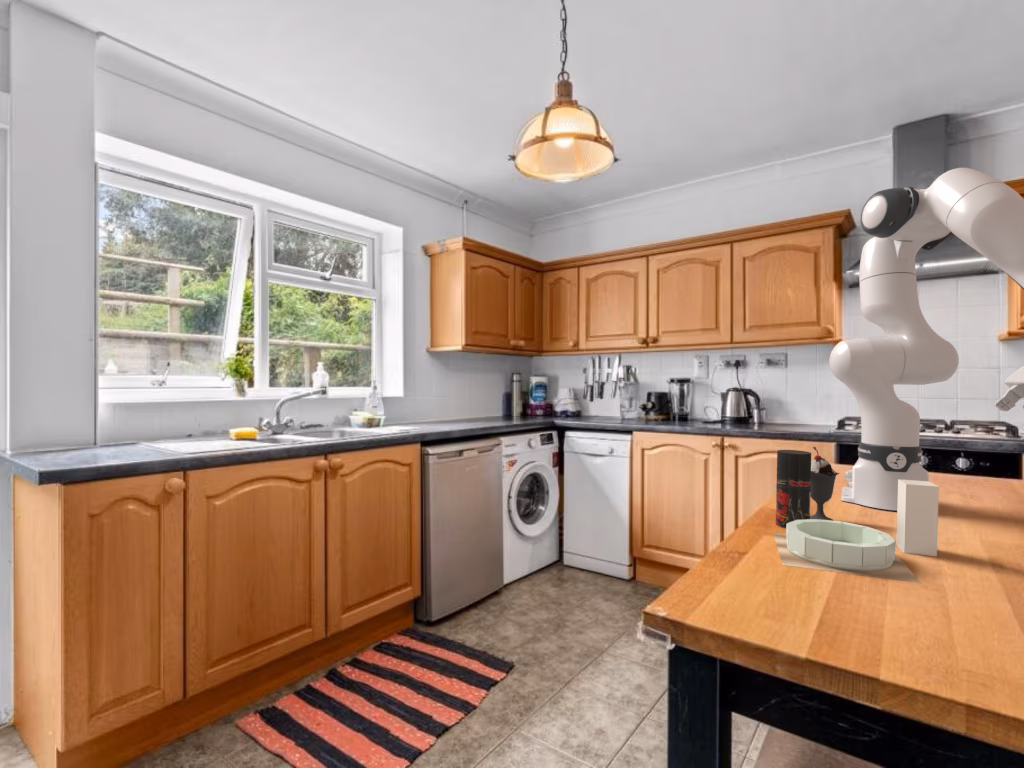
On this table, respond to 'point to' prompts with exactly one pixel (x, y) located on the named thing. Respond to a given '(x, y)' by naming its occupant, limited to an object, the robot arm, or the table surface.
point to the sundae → (821, 484)
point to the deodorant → (793, 486)
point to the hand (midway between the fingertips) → (1013, 409)
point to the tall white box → (917, 517)
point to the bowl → (840, 545)
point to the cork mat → (895, 572)
